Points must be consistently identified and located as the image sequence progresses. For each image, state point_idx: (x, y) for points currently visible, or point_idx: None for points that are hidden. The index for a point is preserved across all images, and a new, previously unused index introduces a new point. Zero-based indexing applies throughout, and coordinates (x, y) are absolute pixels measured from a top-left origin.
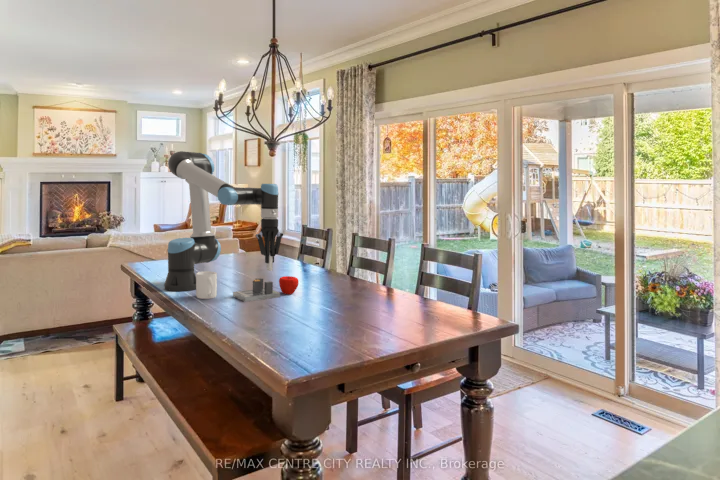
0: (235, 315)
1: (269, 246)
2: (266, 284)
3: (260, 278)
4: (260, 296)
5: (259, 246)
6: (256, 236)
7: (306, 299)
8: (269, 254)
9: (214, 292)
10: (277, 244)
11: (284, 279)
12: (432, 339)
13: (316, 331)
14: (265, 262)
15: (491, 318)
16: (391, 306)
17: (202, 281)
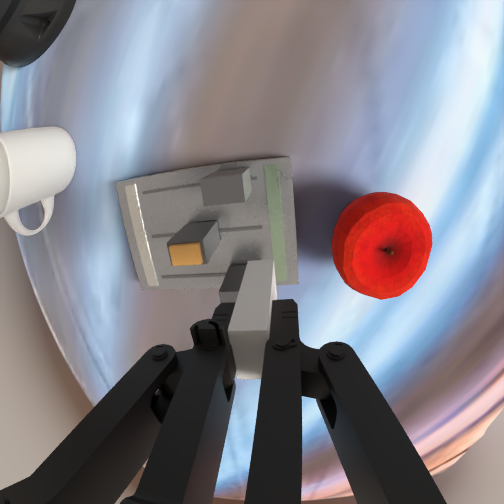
0: (118, 375)
1: (218, 468)
2: None
3: (230, 190)
4: (203, 286)
5: (92, 413)
6: (11, 497)
7: (362, 338)
8: (234, 393)
9: (57, 189)
10: (350, 482)
11: (349, 279)
12: (338, 495)
13: (234, 469)
14: (219, 308)
15: (455, 460)
16: (444, 422)
17: (2, 203)
